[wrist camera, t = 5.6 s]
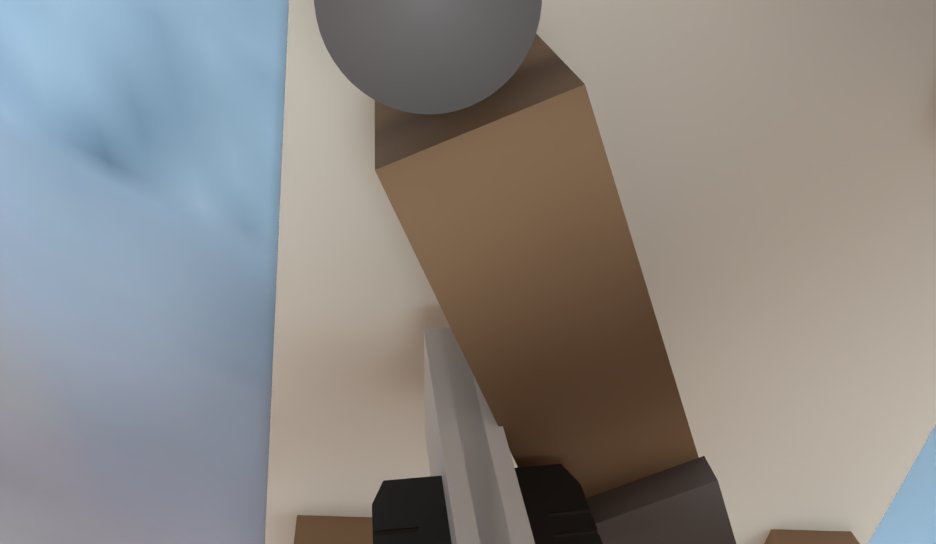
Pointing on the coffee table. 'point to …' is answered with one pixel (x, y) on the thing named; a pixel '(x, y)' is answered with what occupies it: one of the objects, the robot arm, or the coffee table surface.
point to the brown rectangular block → (552, 297)
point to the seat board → (635, 240)
